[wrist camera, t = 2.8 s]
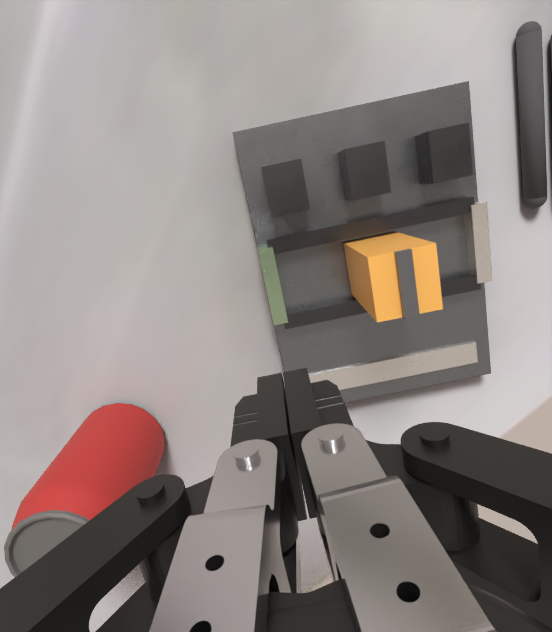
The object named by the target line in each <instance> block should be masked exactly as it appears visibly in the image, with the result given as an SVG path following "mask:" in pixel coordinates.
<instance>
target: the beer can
mask: <svg viewBox="0 0 552 632" xmlns="http://www.w3.org/2000/svg"><path fill="white" fill-rule="evenodd" d="M164 450H165V438H164V434H163V431H162V428H161V426H160V425H159V423H158V422H157V421H156V419H155V418H154V417H153V416H152V415H151V414H149V413H148V412H147V411H145V410H144V409H142V408H139V407H137V406H134V405H132V404H122V403H116V404H111V405H106V406H102V407H101V408H99V409H97V410H95V411H93V412H92V413H91V414H90V415H89V416H88V418H87V419H86V420H85V421H84V422H83V423H82V425H81V426H80V427H79V429H78V430H77V431H76V432H75V434H74V435H73V436H72V437H71V439H70V440H69V441H68V443H67V444H66V445H65V446H64V448H63V449H62V450H61V452H60V453H59V454H58V455H57V457H56V458H55V459H54V461H53V462H52V463H51V464H50V466H49V467H48V468H47V470H46V471H45V472H44V473H43V475H42V476H41V477H40V478H39V480H38V481H37V482H36V484H35V485H34V486H33V487H32V489H31V490H30V491H29V493H28V494H27V495H26V496H25V498H24V499H23V500H22V502H21V504H20V506H19V509H18V511H17V514H16V517H15V520H14V522H13V525H12V530H11V532H10V533H9V535H8V538H7V540H6V543H5V546H4V550H5V561H6V563H7V565H8V567H9V570H10V572H11V574H12V575H13V576H14V577H16V576H18V575H19V574H20V573H22V572H23V571H24V570H26V569H27V568H28V567H29V566H31V565H32V564H33V563H35V562H36V561H37V560H39V559H40V558H41V557H42V556H44V555H45V554H46V553H48V552H49V551H50V550H52V549H53V548H54V547H56V546H57V545H58V544H59V543H61V542H62V541H63V540H65V539H66V538H67V537H69V536H70V535H71V534H73V533H74V532H75V531H76V530H78V529H79V528H80V527H82V526H83V525H84V524H86V523H87V522H88V521H90V520H91V519H92V518H93V517H95V516H96V515H97V514H99V513H100V512H101V511H103V510H104V509H105V508H106V507H108V506H109V505H110V504H112V503H113V502H114V501H116V500H117V499H118V498H120V497H121V496H122V495H123V494H125V493H126V492H127V491H129V490H130V489H131V488H133V487H134V486H136V485H137V484H139V483H140V482H142V481H144V480H146V479H149V478H152V477H155V475H156V472H157V469H158V467H159V464H160V461H161V459H162V456H163V453H164Z"/></svg>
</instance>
